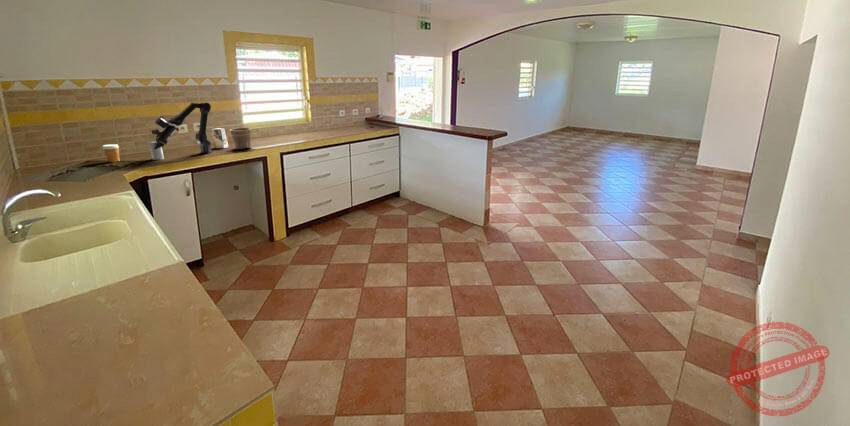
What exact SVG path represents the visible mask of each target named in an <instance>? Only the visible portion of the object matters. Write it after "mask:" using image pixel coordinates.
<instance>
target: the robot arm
mask: <svg viewBox="0 0 850 426" xmlns="http://www.w3.org/2000/svg"><path fill="white" fill-rule="evenodd" d="M196 109H199V112H200V118H199V119H200V121H199V128H198V129H199V130H198V132H197V133H195V140H196V141H195V142H196V143H198V145H199V148H200V154H210V153H212V152H213V150H212V149H211V144H212V143H211V141H209V140H208V136H207V127H208V126H207V122H208V115H209V113H210V111H211V109H212V105H211V104H210V103H209V102H201V103H199V102H190V104H189V105H187V107H185V108H184V109H183V110H182V111H181V112H180V113H179V114H177V115H175V116H173V117H171V119H168V120H167V119H166V118H165V117H164V116H160V117H158V118H157V119H155V122H154V123H155V124H156V125H157V126H158V127H160V128H161V129H163V130H159V129H157V128H155V129H154V128H152V129H151V134H153V135H156V136H155V142H157V144H156V146H155V147H154V149H155V150H156V149H158V148H160V147H162V148H163V147H164V146H166V145H167V144H168V140H169V139H170V138H171V137H172V135H173V134H174V133H175V131H177V132H179V131H180V128H179V126H181V125H182V124H183V122H184V121H185V119H186V118H187V117H188V116H189V115H190V114H191V113H192V112H193V111H194V110H196Z"/></svg>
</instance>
